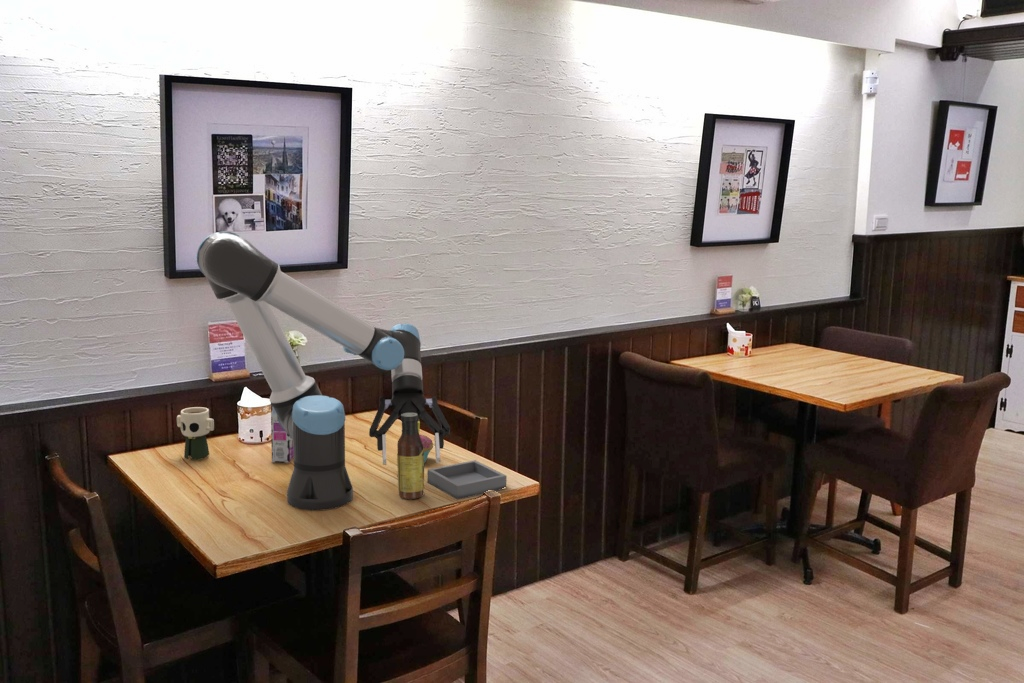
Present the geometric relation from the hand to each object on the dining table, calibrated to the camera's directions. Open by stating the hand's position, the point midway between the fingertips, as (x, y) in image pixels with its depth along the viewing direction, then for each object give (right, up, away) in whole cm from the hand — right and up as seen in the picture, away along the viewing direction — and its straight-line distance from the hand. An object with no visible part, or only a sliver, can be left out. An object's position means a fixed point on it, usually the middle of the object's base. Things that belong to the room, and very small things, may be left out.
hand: (411, 461), depth 214 cm
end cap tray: (+12, -7, +12) cm, 19 cm away
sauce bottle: (-1, -9, +4) cm, 10 cm away
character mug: (-60, -3, +28) cm, 66 cm away
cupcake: (-2, -4, +30) cm, 30 cm away
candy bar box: (-37, -3, +31) cm, 48 cm away
